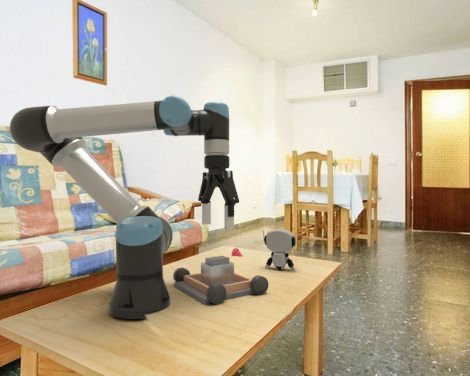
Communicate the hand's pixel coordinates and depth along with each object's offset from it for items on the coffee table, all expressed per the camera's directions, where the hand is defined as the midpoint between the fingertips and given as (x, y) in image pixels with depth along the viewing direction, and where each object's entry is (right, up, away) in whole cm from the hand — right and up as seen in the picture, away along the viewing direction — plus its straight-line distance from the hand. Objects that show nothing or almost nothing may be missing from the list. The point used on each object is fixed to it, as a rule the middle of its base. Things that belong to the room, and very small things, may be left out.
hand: (217, 226), depth 104 cm
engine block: (0, -17, 0) cm, 17 cm away
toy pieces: (+9, -19, +42) cm, 47 cm away
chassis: (0, -19, 0) cm, 19 cm away
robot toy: (+22, -19, +22) cm, 36 cm away
